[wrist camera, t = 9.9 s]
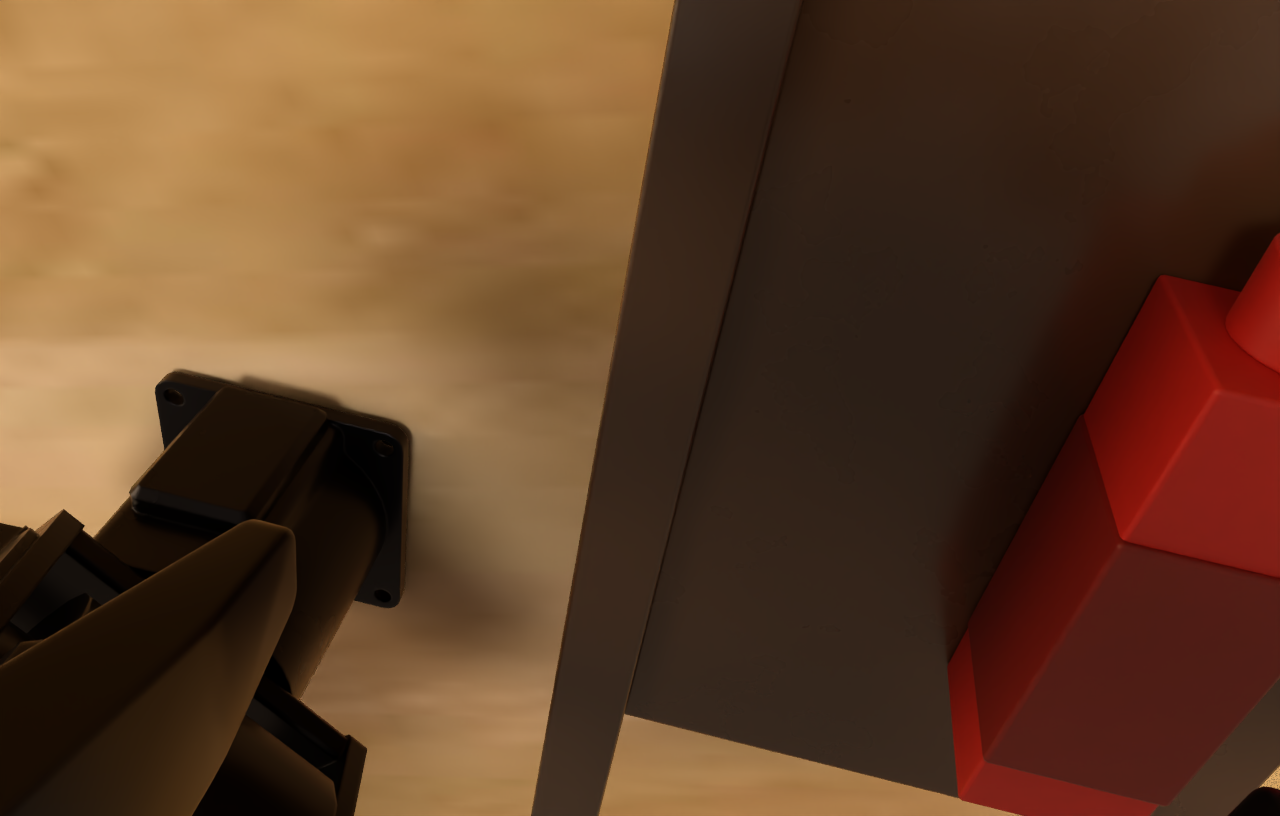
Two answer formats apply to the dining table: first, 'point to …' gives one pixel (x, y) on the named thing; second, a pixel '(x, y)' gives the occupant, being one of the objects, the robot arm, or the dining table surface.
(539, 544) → the dining table surface
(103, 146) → the dining table surface
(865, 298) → the shelf
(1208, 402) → the red square bottle
